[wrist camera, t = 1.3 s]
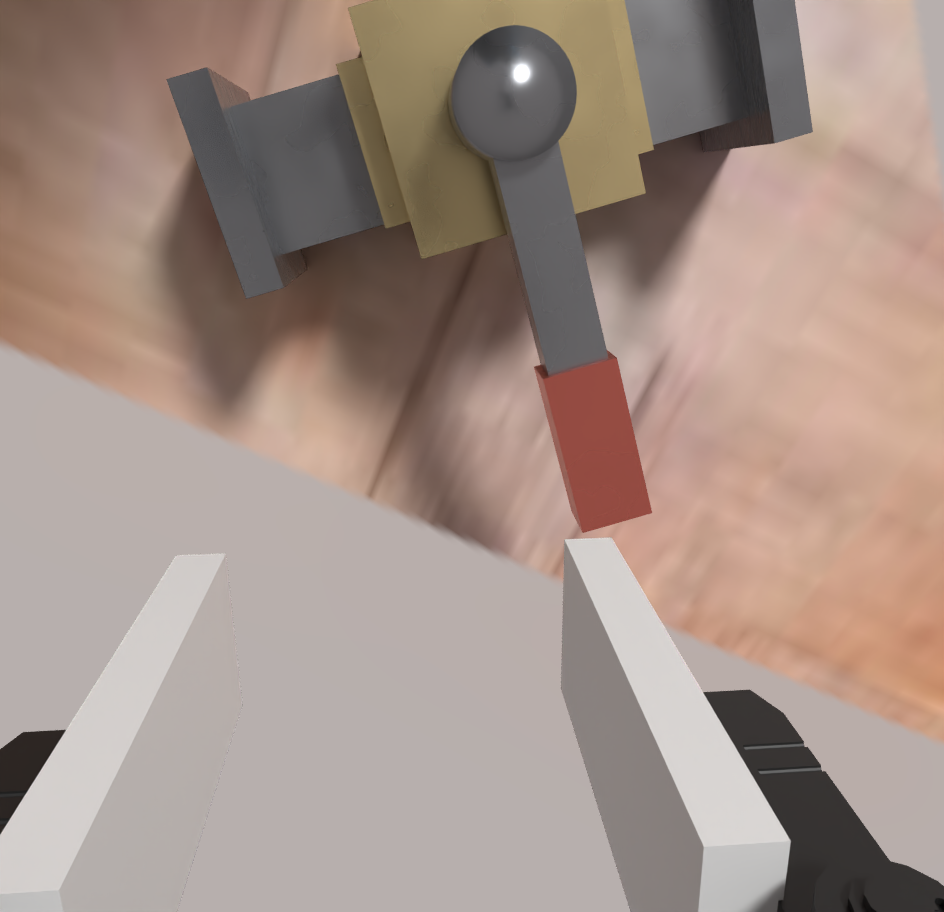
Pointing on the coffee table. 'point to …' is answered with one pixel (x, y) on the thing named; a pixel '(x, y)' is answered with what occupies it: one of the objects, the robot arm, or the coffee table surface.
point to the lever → (551, 262)
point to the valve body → (433, 137)
